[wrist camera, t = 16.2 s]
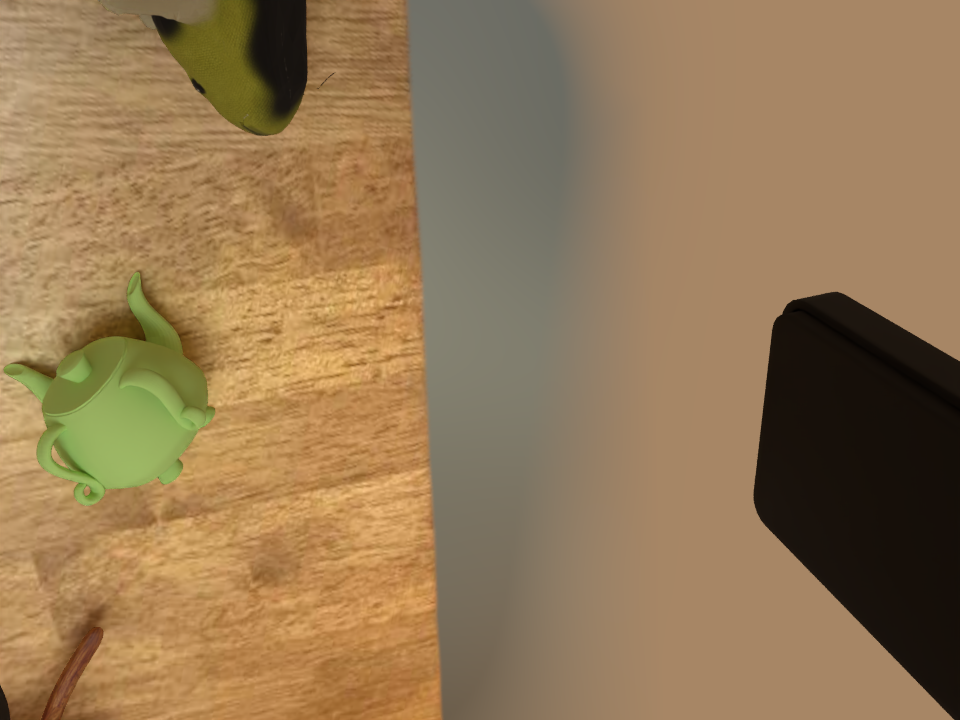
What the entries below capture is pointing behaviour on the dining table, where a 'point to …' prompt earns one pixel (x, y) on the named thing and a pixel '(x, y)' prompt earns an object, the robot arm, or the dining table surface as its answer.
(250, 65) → the fish
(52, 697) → the cat figurine
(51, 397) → the green kettle
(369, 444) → the dining table surface
